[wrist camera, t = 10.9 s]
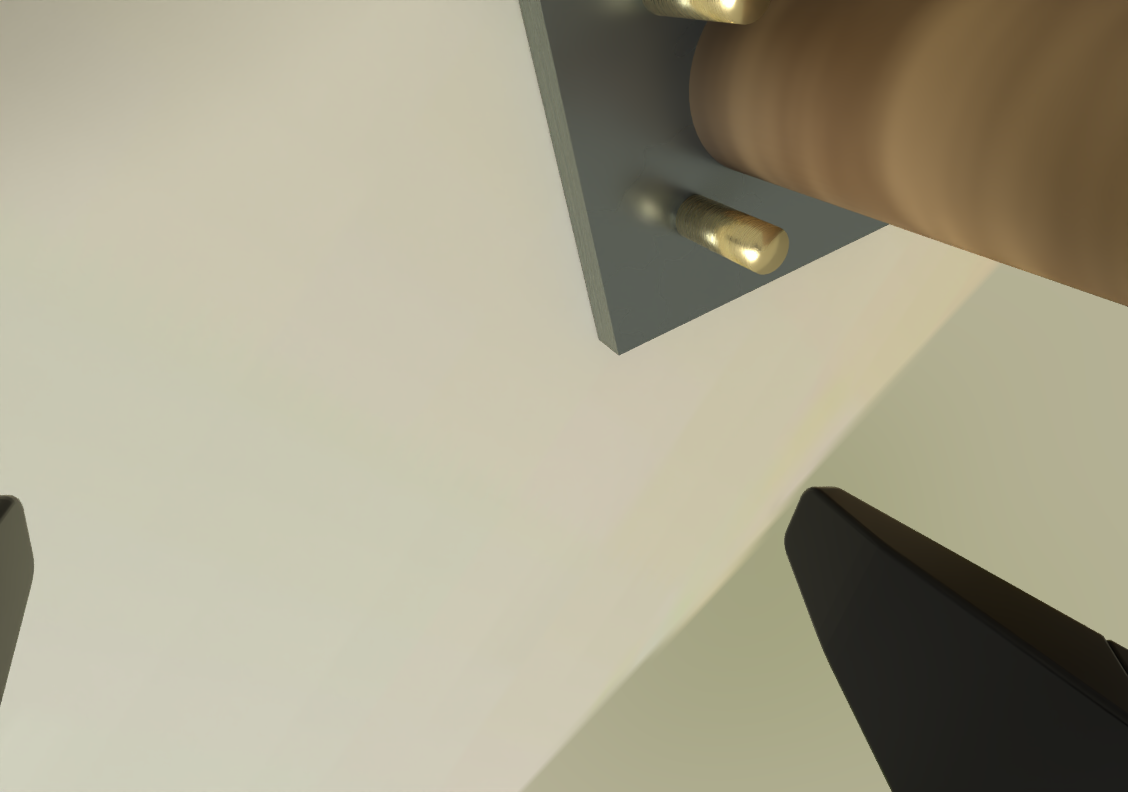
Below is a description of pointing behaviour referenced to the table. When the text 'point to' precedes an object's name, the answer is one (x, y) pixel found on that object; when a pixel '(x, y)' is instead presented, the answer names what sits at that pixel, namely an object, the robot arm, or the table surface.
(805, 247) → the plate
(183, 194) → the table surface
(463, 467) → the table surface
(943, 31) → the walnut post
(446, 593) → the table surface
